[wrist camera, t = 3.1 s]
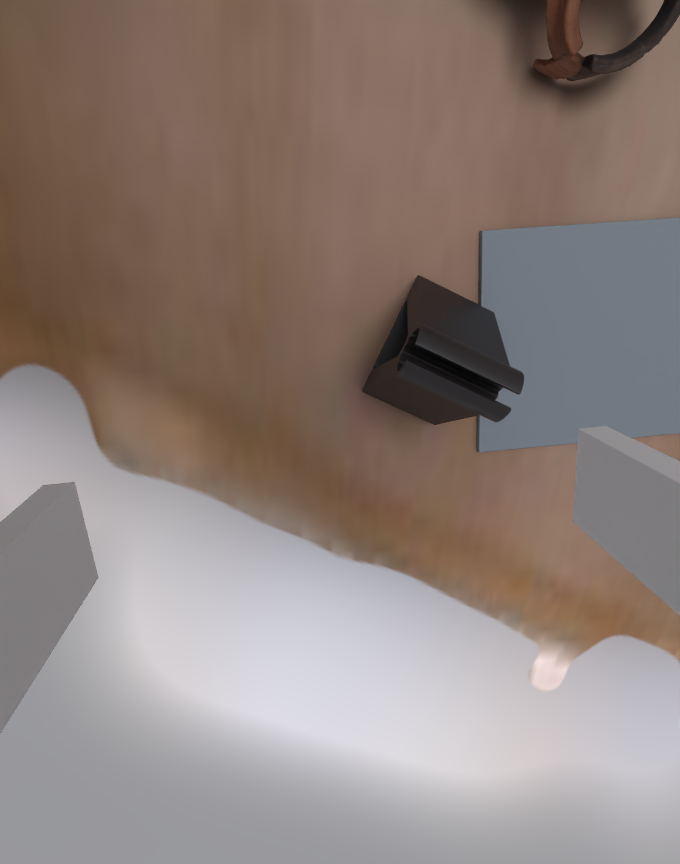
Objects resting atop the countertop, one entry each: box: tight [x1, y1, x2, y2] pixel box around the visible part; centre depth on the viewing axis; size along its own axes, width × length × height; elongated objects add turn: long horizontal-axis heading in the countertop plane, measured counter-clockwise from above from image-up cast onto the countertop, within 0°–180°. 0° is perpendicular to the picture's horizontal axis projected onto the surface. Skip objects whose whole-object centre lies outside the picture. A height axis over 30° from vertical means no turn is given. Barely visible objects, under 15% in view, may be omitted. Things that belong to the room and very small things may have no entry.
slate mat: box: [477, 218, 680, 452], centre depth 39 cm, size 20×16×1 cm
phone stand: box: [363, 275, 524, 425], centre depth 32 cm, size 9×6×12 cm, turn 155°
